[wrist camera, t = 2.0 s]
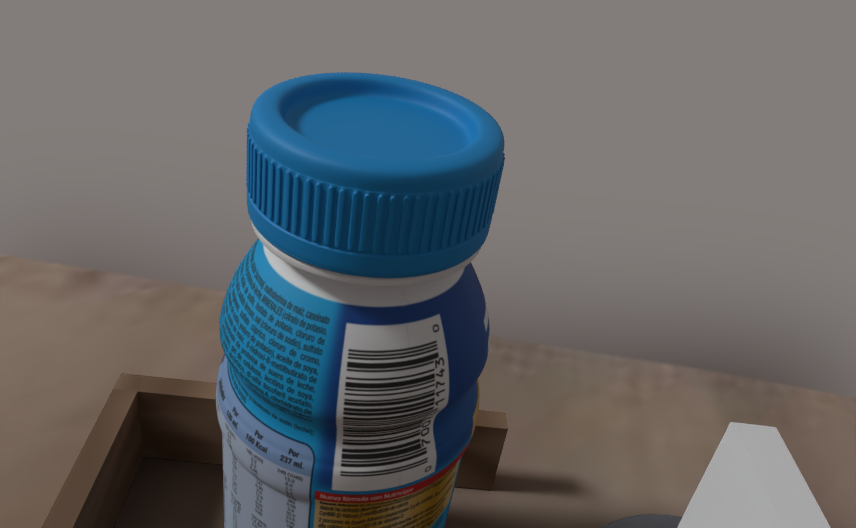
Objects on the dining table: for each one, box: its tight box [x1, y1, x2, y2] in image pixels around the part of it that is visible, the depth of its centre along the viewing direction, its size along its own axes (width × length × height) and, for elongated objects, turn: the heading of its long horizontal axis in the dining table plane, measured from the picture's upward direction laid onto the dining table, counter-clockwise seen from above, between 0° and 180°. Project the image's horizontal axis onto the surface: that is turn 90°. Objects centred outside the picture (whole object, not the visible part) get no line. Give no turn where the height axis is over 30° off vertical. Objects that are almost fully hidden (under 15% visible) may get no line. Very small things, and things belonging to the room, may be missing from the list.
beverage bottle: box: [216, 73, 505, 528], centre depth 25 cm, size 8×8×20 cm
